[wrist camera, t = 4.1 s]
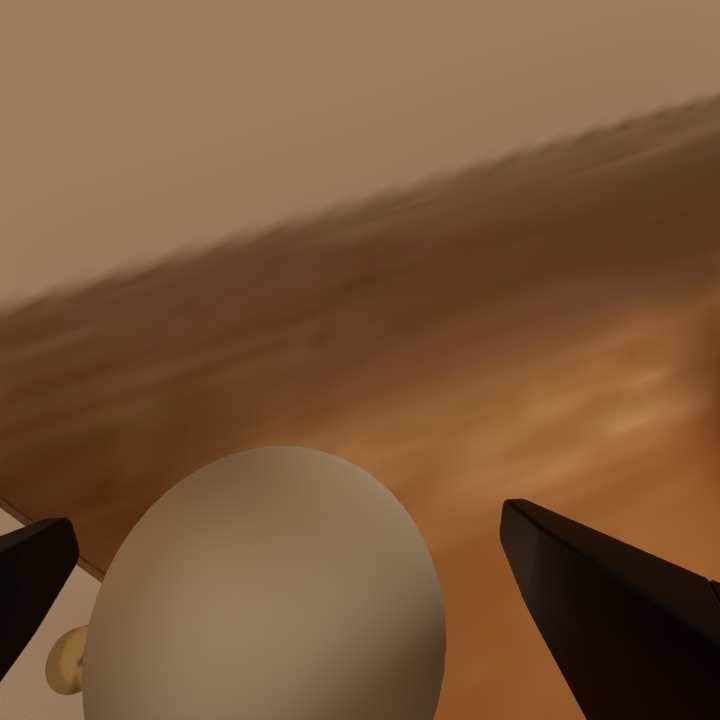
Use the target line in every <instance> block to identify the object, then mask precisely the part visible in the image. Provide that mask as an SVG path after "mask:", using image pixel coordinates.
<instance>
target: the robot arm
mask: <svg viewBox="0 0 720 720" xmlns="http://www.w3.org/2000/svg"><path fill="white" fill-rule="evenodd" d="M500 540H501V544H502V546H503V549H504V551H505V554H506V556H507V559H508V561H509V564H510V566H511V569H512V572H513V574H514V577H515V579H516V582H517V584H518V587H519V589H520V592H521V594H522V597H523V599H524V601H525V604H526V606H527V608H528V610H529V612H530V614H531V616H532V618H533V620H534V622H535V623H536V625H537V627H538V629H539V631H540V633H541V635H542V637H543V638H544V640H545V642H546V644H547V646H548V648H549V650H550V652H551V654H552V655H553V657H554V659H555V661H556V663H557V665H558V667H559V669H560V670H561V672H562V674H563V676H564V678H565V680H566V682H567V684H568V686H569V687H570V689H571V691H572V693H573V695H574V697H575V699H576V701H577V702H578V704H579V706H580V708H581V710H582V712H583V714H584V716H585V717H586V719H587V720H720V583H719V582H716V581H714V580H711V581H708V579H707V578H705V577H703V576H700V575H698V574H696V573H694V572H691V571H689V570H687V569H684V568H682V567H680V566H677V565H675V564H673V563H670V562H668V561H666V560H664V559H661V558H659V557H657V556H654V555H652V554H650V553H647V552H645V551H643V550H640V549H638V548H636V547H634V546H631V545H629V544H627V543H624V542H622V541H620V540H617V539H615V538H613V537H610V536H608V535H606V534H604V533H601V532H599V531H597V530H594V529H592V528H590V527H587V526H585V525H583V524H580V523H578V522H576V521H574V520H571V519H569V518H567V517H564V516H562V515H560V514H557V513H555V512H553V511H550V510H548V509H546V508H544V507H541V506H539V505H537V504H534V503H532V502H530V501H527V500H525V499H507V500H505V501H504V504H503V508H502V516H501V524H500ZM78 559H79V546H78V543H77V540H76V536H75V533H74V529H73V526H72V523H71V521H70V520H69V519H67V518H48V519H44V520H41V521H38V522H36V523H33V524H30V525H28V526H25V527H22V528H20V529H17V530H15V531H12V532H9V533H7V534H4V535H1V536H0V682H1V681H2V680H3V678H4V677H5V675H6V674H7V673H8V671H9V670H10V668H11V667H12V666H13V664H14V663H15V661H16V660H17V659H18V657H19V656H20V654H21V653H22V652H23V650H24V649H25V647H26V646H27V645H28V643H29V642H30V640H31V639H32V637H33V636H34V634H35V633H36V631H37V630H38V628H39V627H40V625H41V623H42V622H43V620H44V618H45V617H46V615H47V613H48V612H49V610H50V608H51V607H52V605H53V603H54V602H55V600H56V598H57V596H58V595H59V593H60V591H61V590H62V588H63V586H64V585H65V583H66V581H67V580H68V578H69V576H70V574H71V573H72V571H73V569H74V568H75V566H76V564H77V561H78Z"/></svg>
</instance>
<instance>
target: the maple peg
mask: <svg viewBox="0 0 720 720" xmlns="http://www.w3.org/2000/svg"><path fill="white" fill-rule="evenodd" d="M445 652H446V630H445V614H444V607H443V599H442V592H441V589H440V585H439V581H438V577H437V573H436V569H435V566H434V563H433V561H432V558H431V556H430V553H429V550H428V548H427V545H426V543H425V541H424V539H423V538H422V536H421V534H420V532H419V530H418V528H417V526H416V524H415V523H414V521H413V520H412V518H411V517H410V516H409V514H408V513H407V511H406V510H405V508H404V507H403V506H402V505H401V503H400V502H399V501H398V500H397V499H396V498H395V497H394V495H393V494H392V493H391V492H390V491H389V490H388V489H387V488H386V487H385V486H383V485H382V484H381V483H380V482H379V481H378V480H377V479H375V478H374V477H373V476H371V475H370V474H368V473H367V472H366V471H364V470H363V469H361V468H360V467H358V466H356V465H354V464H352V463H350V462H348V461H346V460H344V459H342V458H340V457H338V456H335V455H332V454H329V453H326V452H323V451H320V450H315V449H310V448H305V447H295V446H270V447H260V448H255V449H249V450H244V451H241V452H237V453H234V454H231V455H228V456H225V457H222V458H220V459H218V460H216V461H214V462H211V463H209V464H207V465H205V466H203V467H201V468H200V469H198V470H196V471H195V472H193V473H191V474H190V475H188V476H187V477H185V478H184V479H182V480H181V481H180V482H178V483H177V484H176V485H175V486H173V487H172V488H171V489H169V490H168V491H167V492H166V493H165V494H164V495H163V496H162V497H160V498H159V499H158V500H157V501H156V502H155V503H154V504H153V505H152V506H151V507H150V508H149V509H148V510H147V512H146V513H145V514H144V515H143V516H142V518H141V519H140V520H139V521H138V522H137V524H136V525H135V526H134V527H133V529H132V530H131V532H130V533H129V535H128V536H127V537H126V539H125V540H124V542H123V543H122V545H121V546H120V548H119V550H118V552H117V553H116V555H115V557H114V559H113V561H112V563H111V565H110V566H109V568H108V570H107V572H106V575H105V577H104V580H103V582H102V584H101V587H100V589H99V592H98V594H97V597H96V600H95V604H94V607H93V610H92V614H91V617H90V621H89V625H88V630H87V636H86V641H85V647H84V654H83V669H82V696H83V712H84V718H85V720H433V718H434V715H435V711H436V708H437V705H438V701H439V696H440V691H441V686H442V680H443V675H444V664H445Z"/></svg>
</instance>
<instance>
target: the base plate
mask: <svg viewBox="0 0 720 720" xmlns="http://www.w3.org/2000/svg"><path fill="white" fill-rule="evenodd" d="M30 524H33V522H32V521H30V520H29V519H28V518H26V517H25V516H24V515H22V514H21V513H20V512H18V511H17V510H15V509H14V508H13V507H11V506H10V505H9V504H7V503H6V502H5V501H3V500H2V499H1V498H0V536H1V535H4V534H7V533H9V532H12V531H15V530H17V529H20V528H22V527H25V526H28V525H30ZM104 577H105V575H103V574H102V573H101V572H99V571H98V570H97V569H95V568H94V567H93V566H91V565H90V564H89V563H87V562H86V561H84V560H83V559H82V558H80V557H79V559H78V561H77V564H76V566H75V568H74V569H73V571H72V573H71V574H70V576H69V578H68V580H67V581H66V583H65V585H64V586H63V588H62V590H61V591H60V593H59V595H58V596H57V598H56V600H55V602H54V603H53V605H52V607H51V608H50V610H49V612H48V613H47V615H46V617H45V618H44V620H43V622H42V623H41V625H40V627H39V628H38V630H37V631H36V633H35V634H34V636H33V637H32V639H31V640H30V642H29V643H28V645H27V646H26V647H25V649H24V650H23V652H22V653H21V654H20V656H19V657H18V659H17V660H16V661H15V663H14V664H13V666H12V667H11V668H10V670H9V671H8V673H7V674H6V675H5V677H4V678H3V680H2V681H1V682H0V720H85V718H84V712H83V696H82V669H83V654H84V647H85V641H86V636H87V630H88V625H89V621H90V617H91V614H92V610H93V607H94V604H95V600H96V597H97V594H98V592H99V589H100V587H101V584H102V582H103V580H104Z"/></svg>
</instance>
